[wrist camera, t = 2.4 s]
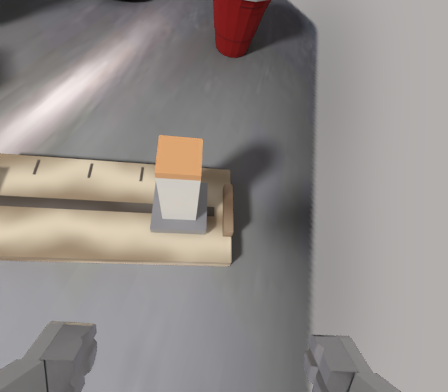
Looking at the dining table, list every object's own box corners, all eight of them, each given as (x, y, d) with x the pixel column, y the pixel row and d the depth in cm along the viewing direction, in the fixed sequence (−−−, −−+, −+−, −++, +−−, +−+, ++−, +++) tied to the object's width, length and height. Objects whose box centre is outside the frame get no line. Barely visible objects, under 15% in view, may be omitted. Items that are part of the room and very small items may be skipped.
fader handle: (205, 234, 31) (216, 190, 21) (151, 232, 30) (136, 185, 20) (206, 187, 34) (217, 128, 24) (156, 184, 33) (146, 122, 23)
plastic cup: (228, 77, 46) (242, 0, 35) (190, 39, 49) (192, -42, 38) (273, 56, 50) (298, -19, 39) (236, 22, 53) (249, -56, 42)
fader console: (228, 266, 32) (233, 259, 29) (-36, 259, 29) (-64, 250, 25) (227, 177, 37) (232, 163, 34) (4, 162, 34) (-15, 144, 31)
